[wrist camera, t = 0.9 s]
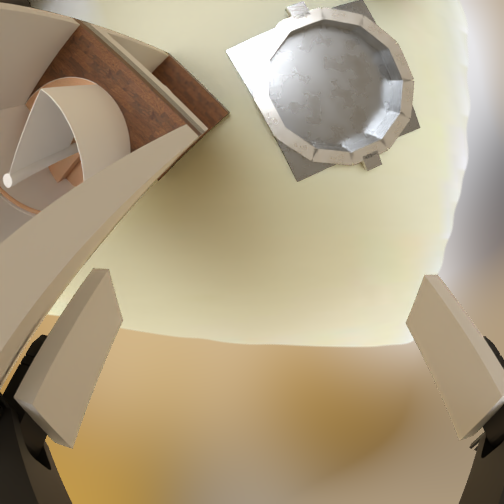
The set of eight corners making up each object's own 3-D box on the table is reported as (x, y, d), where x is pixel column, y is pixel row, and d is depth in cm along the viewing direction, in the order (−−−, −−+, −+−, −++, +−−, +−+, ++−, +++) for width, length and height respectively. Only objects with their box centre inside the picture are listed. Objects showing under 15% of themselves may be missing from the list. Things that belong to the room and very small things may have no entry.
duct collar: (220, 42, 28) (217, 37, 25) (355, -8, 24) (365, -16, 21) (301, 189, 37) (305, 199, 34) (421, 136, 33) (434, 141, 30)
